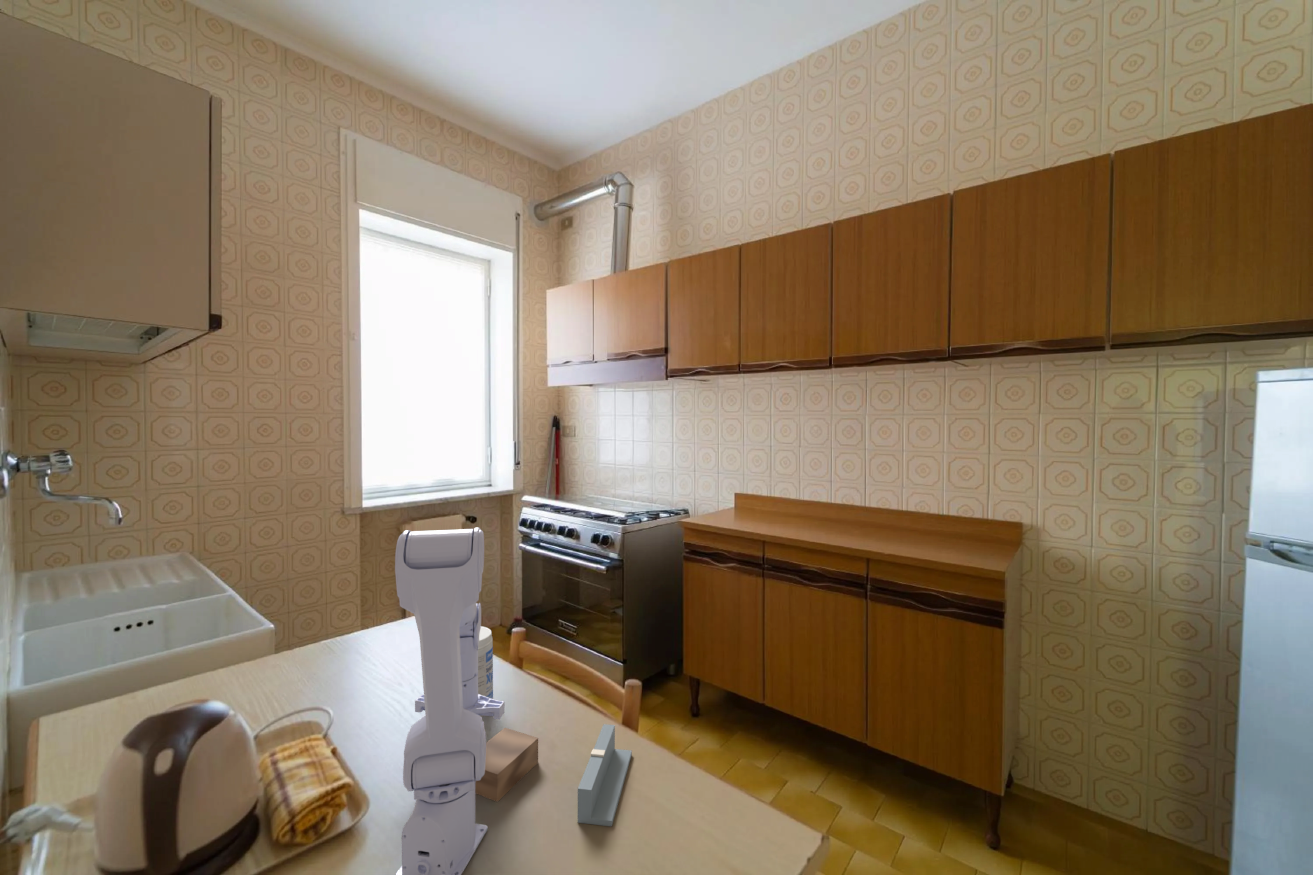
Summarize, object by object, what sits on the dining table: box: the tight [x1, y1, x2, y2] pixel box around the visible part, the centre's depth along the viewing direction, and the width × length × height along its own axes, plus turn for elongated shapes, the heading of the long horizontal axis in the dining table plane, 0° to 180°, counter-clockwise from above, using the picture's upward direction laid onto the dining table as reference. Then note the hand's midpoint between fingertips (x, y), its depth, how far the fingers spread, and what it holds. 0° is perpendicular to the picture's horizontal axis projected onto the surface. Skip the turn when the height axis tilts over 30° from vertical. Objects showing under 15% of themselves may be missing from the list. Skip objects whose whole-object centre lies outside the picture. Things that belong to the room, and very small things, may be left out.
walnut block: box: [475, 727, 539, 803], centre depth 85 cm, size 10×7×4 cm
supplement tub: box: [478, 625, 494, 699], centre depth 105 cm, size 10×10×15 cm
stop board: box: [577, 723, 633, 827], centre depth 83 cm, size 16×5×5 cm, turn 172°
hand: (459, 755), depth 86 cm, fingers closed
